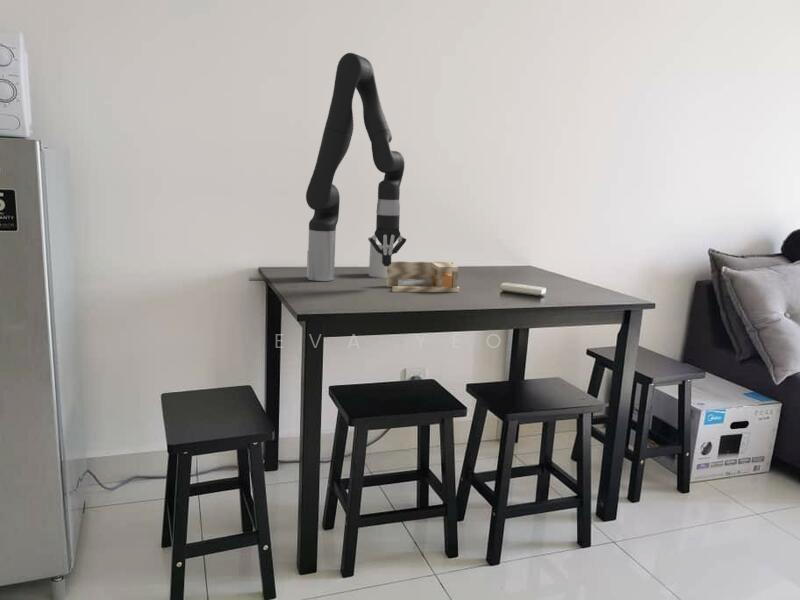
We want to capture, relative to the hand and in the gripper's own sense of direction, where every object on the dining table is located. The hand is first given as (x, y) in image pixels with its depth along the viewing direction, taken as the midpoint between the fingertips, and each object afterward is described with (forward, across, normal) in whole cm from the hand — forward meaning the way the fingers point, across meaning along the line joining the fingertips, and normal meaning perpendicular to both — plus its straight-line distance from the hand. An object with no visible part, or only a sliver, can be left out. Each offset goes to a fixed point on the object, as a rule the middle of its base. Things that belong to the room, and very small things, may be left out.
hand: (386, 266), depth 208 cm
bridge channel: (+8, +13, 0) cm, 15 cm away
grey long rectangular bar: (+8, +10, 0) cm, 13 cm away
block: (+8, +20, 0) cm, 22 cm away
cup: (+8, +4, +24) cm, 26 cm away
